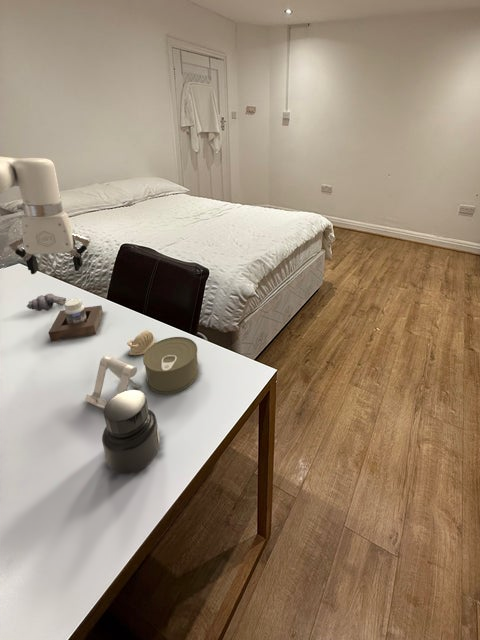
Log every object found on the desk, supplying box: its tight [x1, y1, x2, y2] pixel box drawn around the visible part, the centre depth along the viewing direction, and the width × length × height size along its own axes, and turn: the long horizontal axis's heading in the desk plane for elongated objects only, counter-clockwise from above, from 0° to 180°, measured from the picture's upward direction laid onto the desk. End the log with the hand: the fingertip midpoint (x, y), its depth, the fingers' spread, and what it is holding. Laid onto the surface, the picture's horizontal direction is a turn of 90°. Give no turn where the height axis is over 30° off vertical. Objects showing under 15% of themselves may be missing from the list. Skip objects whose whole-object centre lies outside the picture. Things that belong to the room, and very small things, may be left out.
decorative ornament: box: [126, 330, 155, 356], centre depth 86 cm, size 4×8×5 cm, turn 157°
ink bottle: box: [101, 389, 161, 475], centre depth 59 cm, size 10×9×12 cm
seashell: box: [26, 293, 67, 312], centre depth 101 cm, size 5×5×10 cm
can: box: [143, 336, 199, 395], centre depth 78 cm, size 12×12×7 cm
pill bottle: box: [64, 298, 87, 325], centre depth 93 cm, size 5×5×8 cm
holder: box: [48, 305, 104, 342], centre depth 94 cm, size 11×11×3 cm
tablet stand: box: [85, 355, 139, 410], centre depth 71 cm, size 9×8×8 cm
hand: (57, 270), depth 86 cm, fingers open, 9 cm apart
